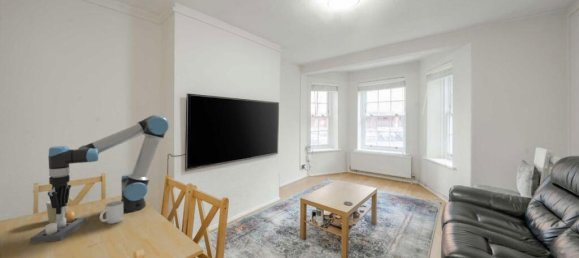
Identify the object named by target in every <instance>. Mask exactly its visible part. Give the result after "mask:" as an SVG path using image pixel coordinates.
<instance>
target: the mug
mask: <svg viewBox="0 0 579 258" xmlns="http://www.w3.org/2000/svg"><path fill="white" fill-rule="evenodd" d="M124 213H125V212H124V209H123V202H122V201H121V200H117V201H112V202H109V203H107V204H105V208H104V209H102V210H101V211H100V213H99V220H100V222H103V223H104V222H105V223H107V224H111V225H112V224H117V223H120V222H121V221H123V220H124ZM104 214H105V218H104V217H103V216H104Z"/></svg>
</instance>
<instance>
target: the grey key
mask: <svg viewBox="0 0 579 258" xmlns="http://www.w3.org/2000/svg"><path fill="white" fill-rule="evenodd" d="M56 223H57V229H63V228H65V227H66V218H64V219H63V220H56Z"/></svg>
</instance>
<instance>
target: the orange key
mask: <svg viewBox="0 0 579 258" xmlns="http://www.w3.org/2000/svg"><path fill="white" fill-rule="evenodd" d="M75 213H76V212H75V211H74V210H72V211H68V212H67V213H65V218H66V223H71V222H74V221H75V218H76V217H75V216H76V214H75Z"/></svg>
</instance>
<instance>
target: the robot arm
mask: <svg viewBox="0 0 579 258" xmlns="http://www.w3.org/2000/svg"><path fill="white" fill-rule="evenodd" d="M169 123H170V122H169V121H168V119H167V118H166V117H164V116H162V115H155V114H154V115H150V116H148V117H146V118H144V119H142V120H141V121H137V122H136V124H134V125H132V126H129V127H127V128H124V129H122V130H120V131H117V132H115V133H112V134H110V135H107V136H104V137H103V138H100V139H97V140H94V141H92V142H91V143H88V144H83V145H81V146H80V147H78V148H77V149H70V147H69V146H68V145H58V146H55V145H54V146H51V147H49V148H48V156H47V157H48V176H49V178H48V183H49V185H51V191H49V192H47V196H48V197H49V201H51V205H52V208H56V219H57V220H63V219H64V218H65V206H67V203H68V199H69V198H70V190H71V188H72V184H68V183H69V182H70V178H71V177H70V174H71V173H70V165H71V164H83V163H93V162H95V163H96V162H97V161H99V154H101V153H103V152H106V151H107V150H110V149H113V148H114V147H117V146H119V145H122V144H124V143H126V142H128V141H130V140H133V139H135V138H138V137H140V136H142V135H143V136H144V139H143V141H142V144H141V147H140V150H139V153H138V156H137V159H136V162H135V163H134V164H135V165H134V167H133V170H132V173H129V174H124V175H122V176H121V179H120V180H121V199H120V201H122V202H123V209H124V213H131V212H137V211H139V210H142V209H145V208H146V205H147V204H146V203H147V202H146V200H145V197H146V195H147V194H148V185H149V182H150V178H149V174H150V171H151V167H152V164H153V162H154V158H155V156H156V153H157V150H158V147H159V145H160V141H161V140H163V139H164V138H165V134H166V133H167V131H169V128H170V124H169ZM69 200H70V199H69Z"/></svg>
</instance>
